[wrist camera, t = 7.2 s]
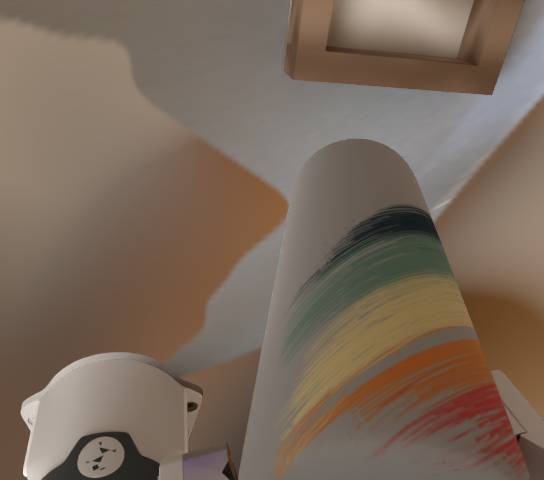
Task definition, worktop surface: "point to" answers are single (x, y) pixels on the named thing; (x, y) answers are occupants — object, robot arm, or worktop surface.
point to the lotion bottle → (371, 340)
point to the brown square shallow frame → (401, 42)
